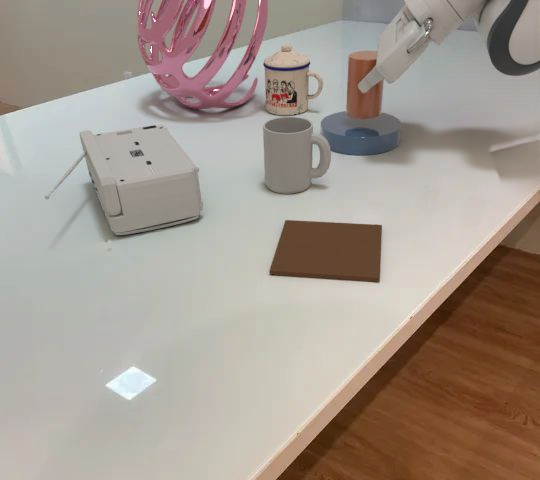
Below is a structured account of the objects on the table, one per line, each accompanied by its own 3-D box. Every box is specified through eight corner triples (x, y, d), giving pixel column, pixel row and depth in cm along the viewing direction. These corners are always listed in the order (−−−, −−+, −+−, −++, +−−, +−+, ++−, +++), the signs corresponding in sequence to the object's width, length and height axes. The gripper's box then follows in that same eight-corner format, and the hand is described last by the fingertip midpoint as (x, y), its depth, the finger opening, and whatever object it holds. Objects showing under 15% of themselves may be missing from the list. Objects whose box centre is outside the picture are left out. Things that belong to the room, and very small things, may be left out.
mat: (381, 228, 74) (382, 224, 74) (379, 282, 65) (379, 277, 64) (285, 223, 76) (285, 219, 76) (269, 274, 67) (269, 270, 66)
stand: (399, 127, 103) (401, 110, 101) (399, 156, 93) (401, 138, 91) (323, 125, 105) (324, 109, 103) (316, 153, 95) (316, 136, 93)
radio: (170, 167, 92) (46, 190, 87) (162, 115, 87) (29, 136, 82) (208, 220, 78) (61, 252, 72) (201, 162, 72) (42, 192, 67)
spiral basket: (266, -25, 121) (162, -112, 101) (330, 33, 106) (224, -55, 87) (199, 91, 134) (96, 34, 114) (248, 156, 120) (140, 103, 100)
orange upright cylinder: (381, 107, 98) (386, 50, 92) (380, 119, 93) (385, 59, 87) (347, 107, 99) (349, 50, 93) (344, 118, 94) (347, 59, 88)
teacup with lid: (257, 113, 112) (254, 48, 104) (275, 100, 118) (273, 38, 110) (314, 120, 108) (315, 53, 100) (329, 105, 114) (331, 41, 107)
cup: (270, 173, 89) (268, 115, 83) (332, 177, 87) (335, 118, 82) (260, 192, 84) (257, 132, 78) (326, 197, 82) (328, 135, 76)
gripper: (447, 45, 78) (372, 117, 86) (439, 17, 94) (375, 80, 101) (419, 9, 76) (344, 86, 84) (415, -14, 91) (352, 53, 99)
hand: (361, 82), depth 93 cm, fingers closed on orange upright cylinder, 6 cm apart
